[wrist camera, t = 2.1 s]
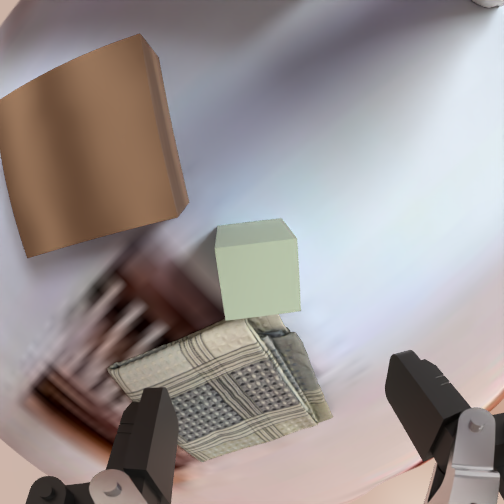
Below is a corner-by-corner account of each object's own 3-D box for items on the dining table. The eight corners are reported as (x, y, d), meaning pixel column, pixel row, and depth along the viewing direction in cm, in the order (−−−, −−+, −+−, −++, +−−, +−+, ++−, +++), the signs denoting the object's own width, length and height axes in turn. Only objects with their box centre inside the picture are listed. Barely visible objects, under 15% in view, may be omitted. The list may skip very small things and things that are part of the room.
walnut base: (159, 58, 20) (140, 33, 15) (189, 201, 24) (177, 217, 18) (34, 108, 20) (-6, 103, 15) (63, 236, 24) (27, 258, 18)
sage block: (281, 218, 25) (296, 238, 19) (285, 276, 26) (300, 310, 21) (217, 225, 25) (214, 248, 19) (225, 284, 26) (225, 320, 20)
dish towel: (198, 455, 34) (197, 474, 31) (108, 359, 28) (98, 378, 25) (336, 407, 32) (344, 426, 29) (275, 285, 27) (281, 302, 24)
